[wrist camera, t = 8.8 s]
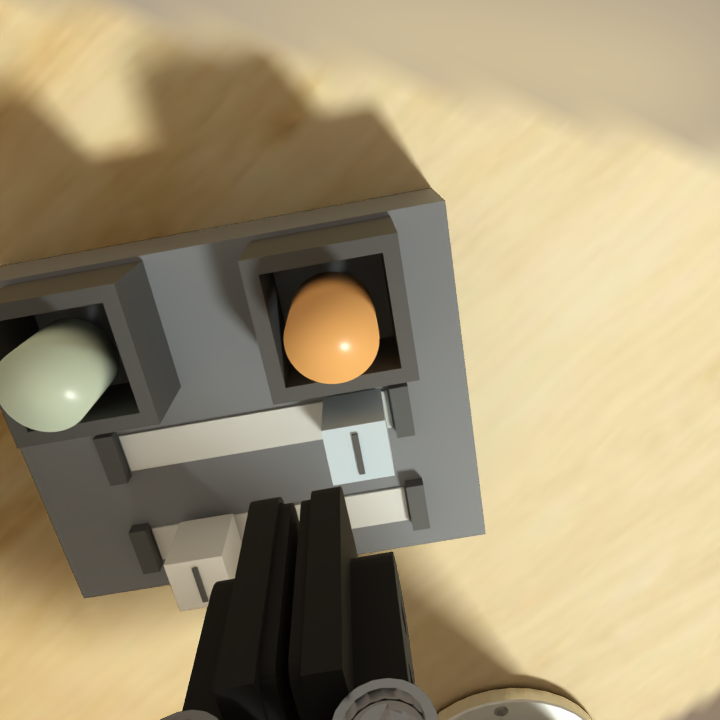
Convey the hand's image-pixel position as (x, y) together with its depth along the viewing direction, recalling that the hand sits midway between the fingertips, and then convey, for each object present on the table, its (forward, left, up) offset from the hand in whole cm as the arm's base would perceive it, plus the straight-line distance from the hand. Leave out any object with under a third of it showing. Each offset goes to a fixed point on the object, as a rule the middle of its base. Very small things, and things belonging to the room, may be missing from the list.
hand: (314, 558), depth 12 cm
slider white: (-10, +7, -16) cm, 20 cm away
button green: (0, +10, -14) cm, 17 cm away
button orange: (0, 0, -14) cm, 14 cm away
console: (-5, +5, -20) cm, 21 cm away
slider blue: (-5, 0, -16) cm, 17 cm away
